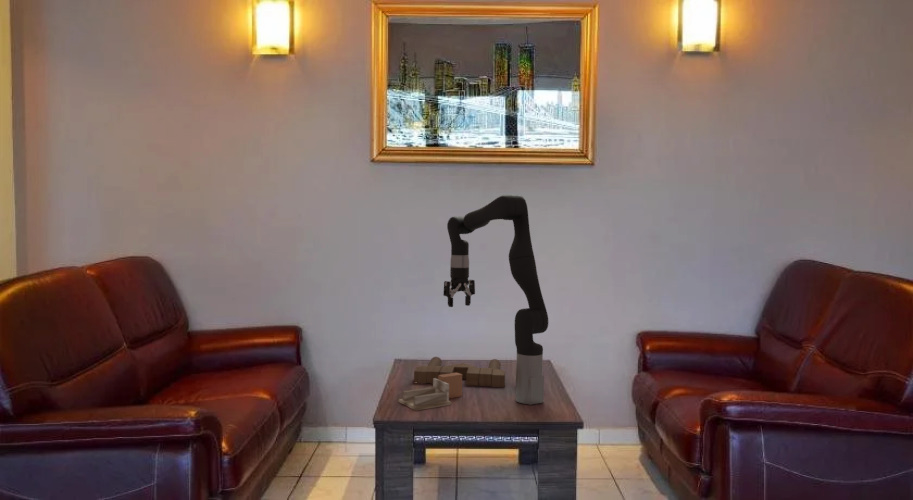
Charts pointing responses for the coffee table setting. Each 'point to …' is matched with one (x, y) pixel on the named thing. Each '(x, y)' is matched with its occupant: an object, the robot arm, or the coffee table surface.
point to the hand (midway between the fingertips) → (459, 306)
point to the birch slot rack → (427, 396)
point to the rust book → (453, 383)
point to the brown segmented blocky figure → (470, 373)
